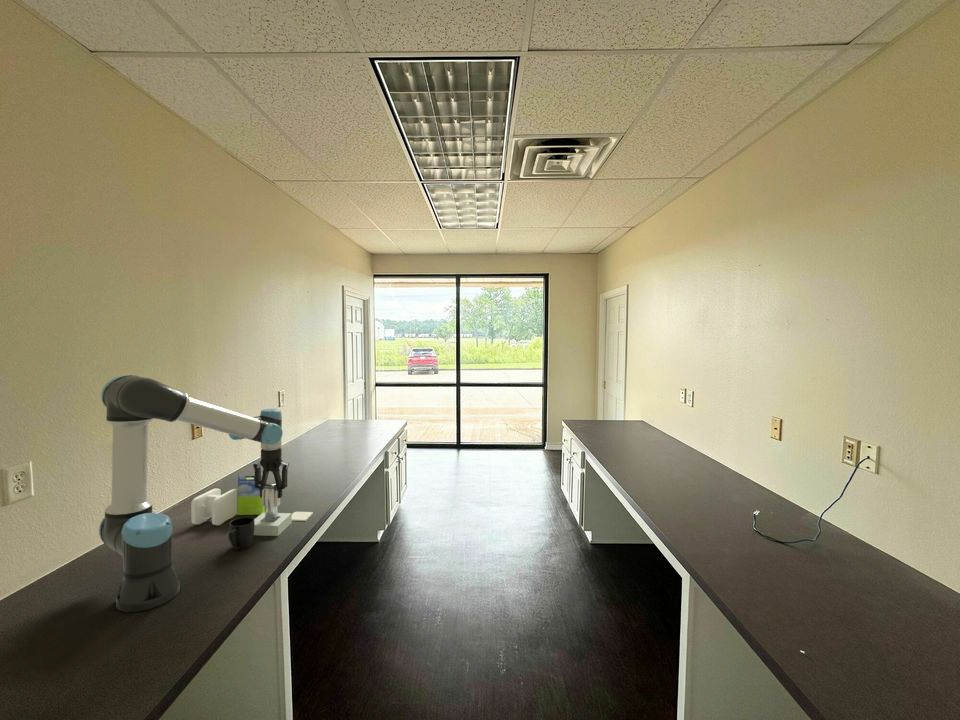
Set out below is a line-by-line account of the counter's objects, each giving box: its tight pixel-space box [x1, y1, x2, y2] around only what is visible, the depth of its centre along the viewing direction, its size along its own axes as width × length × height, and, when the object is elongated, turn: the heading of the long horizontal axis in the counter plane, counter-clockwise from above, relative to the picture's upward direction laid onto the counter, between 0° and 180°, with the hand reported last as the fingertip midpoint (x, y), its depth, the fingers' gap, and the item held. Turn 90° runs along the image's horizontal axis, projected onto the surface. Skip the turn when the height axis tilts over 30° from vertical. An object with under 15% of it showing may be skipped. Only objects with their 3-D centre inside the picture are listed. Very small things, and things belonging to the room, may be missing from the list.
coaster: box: [292, 511, 314, 522], centre depth 190 cm, size 8×8×1 cm
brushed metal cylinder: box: [264, 481, 278, 520], centre depth 177 cm, size 5×5×14 cm
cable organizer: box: [190, 488, 238, 526], centre depth 184 cm, size 15×11×12 cm
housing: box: [253, 512, 293, 537], centre depth 178 cm, size 12×12×4 cm
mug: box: [228, 516, 255, 551], centre depth 161 cm, size 8×12×10 cm
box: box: [237, 475, 265, 516], centre depth 192 cm, size 10×4×17 cm, turn 97°
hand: (271, 505), depth 177 cm, fingers closed on brushed metal cylinder, 5 cm apart
